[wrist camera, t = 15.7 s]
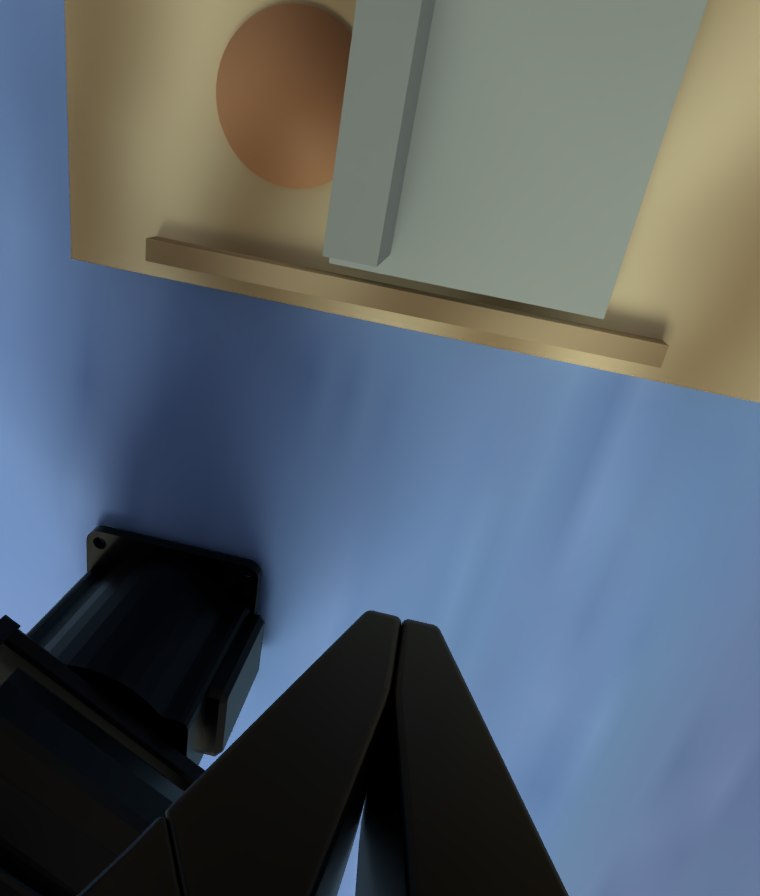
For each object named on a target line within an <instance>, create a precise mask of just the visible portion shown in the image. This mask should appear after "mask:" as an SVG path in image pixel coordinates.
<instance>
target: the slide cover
mask: <svg viewBox="0 0 760 896" xmlns="http://www.w3.org/2000/svg"><path fill="white" fill-rule="evenodd" d="M707 1H708V0H357V2H356V9H355V17H354V24H353V31H352V39H351V46H350V54H349V61H348V69H347V76H346V84H345V91H344V99H343V106H342V113H341V121H340V128H339V136H338V143H337V151H336V158H335V166H334V173H333V181H332V188H331V195H330V203H329V210H328V218H327V225H326V233H325V240H324V248H323V255H322V256H325V257H330V259H329V263H331V264H336V265H341V266H346V267H351V268H356V269H361V270H365V271H370V272H375V273H380V274H385V275H390V276H395V277H400V278H405V279H409V280H414V281H419V282H424V283H429V284H434V285H439V286H444V287H448V288H453V289H458V290H463V291H468V292H473V293H478V294H483V295H488V296H492V297H497V298H502V299H507V300H512V301H517V302H522V303H527V304H532V305H536V306H541V307H546V308H551V309H556V310H561V311H566V312H571V313H575V314H580V315H585V316H590V317H595V318H600V319H604V317H605V314H606V311H607V308H608V305H609V301H610V298H611V295H612V292H613V289H614V286H615V283H616V280H617V277H618V274H619V271H620V268H621V265H622V262H623V259H624V256H625V253H626V249H627V246H628V243H629V240H630V237H631V234H632V231H633V228H634V225H635V222H636V219H637V216H638V213H639V210H640V207H641V204H642V200H643V197H644V194H645V191H646V188H647V185H648V182H649V179H650V176H651V173H652V170H653V167H654V164H655V161H656V158H657V155H658V151H659V148H660V145H661V142H662V139H663V136H664V133H665V130H666V127H667V124H668V121H669V118H670V115H671V112H672V109H673V106H674V102H675V99H676V96H677V93H678V90H679V87H680V84H681V81H682V78H683V75H684V72H685V69H686V66H687V63H688V60H689V57H690V54H691V50H692V47H693V44H694V41H695V38H696V35H697V32H698V29H699V26H700V23H701V20H702V17H703V14H704V11H705V8H706V5H707Z"/></svg>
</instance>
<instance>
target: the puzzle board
mask: <svg viewBox="0 0 760 896" xmlns="http://www.w3.org/2000/svg"><path fill="white" fill-rule="evenodd" d="M356 2H357V0H65V32H66V70H67V109H68V147H69V186H70V225H71V259H75V260H80V261H84V262H89V263H94V264H99V265H104V266H108V267H113V268H118V269H123V270H127V271H132V272H137V273H142V274H147V275H151V276H156V277H161V278H166V279H171V280H175V281H180V282H185V283H190V284H194V285H199V286H204V287H209V288H214V289H218V290H223V291H228V292H233V293H237V294H242V295H247V296H252V297H257V298H261V299H266V300H271V301H276V302H281V303H285V304H290V305H295V306H300V307H304V308H309V309H314V310H319V311H324V312H328V313H333V314H338V315H343V316H347V317H352V318H357V319H362V320H367V321H371V322H376V323H381V324H386V325H390V326H395V327H400V328H405V329H410V330H414V331H419V332H424V333H429V334H434V335H438V336H443V337H448V338H453V339H457V340H462V341H467V342H472V343H477V344H481V345H486V346H491V347H496V348H500V349H505V350H510V351H515V352H520V353H524V354H529V355H534V356H539V357H544V358H548V359H553V360H558V361H563V362H567V363H572V364H577V365H582V366H587V367H591V368H596V369H601V370H606V371H610V372H615V373H620V374H625V375H630V376H634V377H639V378H644V379H649V380H654V381H658V382H663V383H668V384H673V385H677V386H682V387H687V388H692V389H697V390H701V391H706V392H711V393H716V394H720V395H725V396H730V397H735V398H740V399H744V400H749V401H754V402H759V403H760V0H708V1H707V5H706V8H705V11H704V14H703V17H702V20H701V23H700V26H699V29H698V32H697V35H696V38H695V41H694V44H693V47H692V50H691V54H690V57H689V60H688V63H687V66H686V69H685V72H684V75H683V78H682V81H681V84H680V87H679V90H678V93H677V96H676V99H675V102H674V106H673V109H672V112H671V115H670V118H669V121H668V124H667V127H666V130H665V133H664V136H663V139H662V142H661V145H660V148H659V151H658V155H657V158H656V161H655V164H654V167H653V170H652V173H651V176H650V179H649V182H648V185H647V188H646V191H645V194H644V197H643V200H642V204H641V207H640V210H639V213H638V216H637V219H636V222H635V225H634V228H633V231H632V234H631V237H630V240H629V243H628V246H627V249H626V253H625V256H624V259H623V262H622V265H621V268H620V271H619V274H618V277H617V280H616V283H615V286H614V289H613V292H612V295H611V298H610V301H609V305H608V308H607V311H606V314H605V317H604V319H600V318H595V317H590V316H585V315H580V314H575V313H571V312H566V311H561V310H556V309H551V308H546V307H541V306H536V305H532V304H527V303H522V302H517V301H512V300H507V299H502V298H497V297H492V296H488V295H483V294H478V293H473V292H468V291H463V290H458V289H453V288H448V287H444V286H439V285H434V284H429V283H424V282H419V281H414V280H409V279H405V278H400V277H395V276H390V275H385V274H380V273H375V272H370V271H365V270H361V269H356V268H351V267H346V266H341V265H336V264H331V263H329V259H330V257H325V256H322V255H323V248H324V240H325V233H326V225H327V218H328V210H329V203H330V195H331V188H332V181H333V173H334V166H335V158H336V151H337V143H338V136H339V128H340V121H341V113H342V106H343V99H344V91H345V84H346V76H347V69H348V61H349V54H350V46H351V39H352V31H353V24H354V17H355V9H356Z"/></svg>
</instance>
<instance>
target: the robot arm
mask: <svg viewBox="0 0 760 896" xmlns="http://www.w3.org/2000/svg"><path fill="white" fill-rule="evenodd" d="M99 537H100V538H102V539H104V541H105V542H106V543H104V542H102V541H101V540H100V538H99ZM242 571H246V572H248V573H249V574H250V575H251V577H247V576H245V575H244V574H243V573H242ZM261 575H262V573H261V568H260V567H259V565H258V564H257V563H256V562H254V561H252V560H249V559H245V558H240V557H236V556H232V555H227V554H223V553H219V552H214V551H210V550H206V549H202V548H197V547H193V546H189V545H184V544H180V543H176V542H171V541H167V540H163V539H159V538H154V537H150V536H146V535H141V534H137V533H133V532H128V531H124V530H120V529H116V528H111V527H107V526H99V527H96V528H95V529H94V530H93V531H92V532H91V533H90V534H89V535H88V536H87V573H86V574H85V575H84V576H83V577H82V578H81V579H80V580H79V581H78V582H77V583H76V584H75V585H74V586H73V587H72V588H71V589H70V590H69V591H68V592H67V593H66V594H65V595H64V597H63V598H62V599H61V600H60V601H59V602H58V603H57V604H56V605H55V606H54V607H53V608H52V609H51V610H50V611H49V612H48V613H47V614H46V615H45V616H44V617H43V618H42V619H41V620H40V621H39V622H38V623H37V624H36V625H35V626H34V627H33V628H32V629H31V630H30V631H29V632H28V633H27V634H24V633H23V632H22V631H20V630H19V628H20V625H19V624H17V623H16V622H15V621H13V620H12V619H11V618H9V617H8V616H7V615H5V616H3V617H2V618H1V619H0V896H337V893H338V890H339V887H340V884H341V881H342V878H343V874H344V871H345V868H346V865H347V862H348V858H349V855H350V852H351V849H352V846H353V842H354V839H355V835H356V832H357V828H358V825H359V821H360V817H361V813H362V809H363V805H364V809H363V815H362V821H361V831H360V841H359V852H358V865H357V879H356V892H355V896H569V895H568V893H567V891H566V889H565V887H564V885H563V883H562V881H561V879H560V877H559V875H558V873H557V871H556V869H555V866H554V864H553V862H552V860H551V858H550V856H549V854H548V852H547V850H546V848H545V846H544V844H543V842H542V840H541V838H540V836H539V833H538V831H537V829H536V827H535V825H534V823H533V821H532V819H531V817H530V815H529V813H528V811H527V809H526V807H525V805H524V802H523V800H522V798H521V796H520V794H519V792H518V790H517V788H516V786H515V784H514V782H513V780H512V778H511V776H510V774H509V772H508V769H507V767H506V765H505V763H504V761H503V759H502V757H501V755H500V753H499V751H498V749H497V747H496V745H495V743H494V741H493V739H492V736H491V734H490V732H489V730H488V728H487V726H486V724H485V722H484V720H483V718H482V716H481V714H480V712H479V710H478V708H477V706H476V703H475V701H474V699H473V697H472V695H471V693H470V691H469V689H468V687H467V685H466V683H465V681H464V679H463V677H462V675H461V672H460V670H459V668H458V666H457V664H456V662H455V660H454V658H453V656H452V654H451V652H450V650H449V648H448V646H447V644H446V642H445V639H444V637H443V635H442V633H441V631H440V629H439V628H438V627H437V626H435V625H432V624H427V623H423V622H419V621H415V620H410V619H406V620H404V621H403V622H402V625H401V620H400V619H399V618H398V617H397V616H393V615H389V614H385V613H380V612H376V611H367V612H365V613H364V614H363V615H362V616H361V617H360V618H359V619H358V620H357V621H356V622H355V623H354V624H353V625H352V626H351V627H350V628H349V629H348V630H347V631H346V632H345V633H344V634H343V635H342V636H341V637H340V638H339V639H338V640H337V641H335V642H334V643H333V644H332V645H331V646H330V647H329V648H328V649H327V650H326V651H325V652H324V653H323V654H322V655H321V656H320V657H319V658H318V659H317V660H316V661H315V662H314V663H313V664H312V665H311V666H310V667H309V668H308V669H307V670H306V671H305V672H304V673H303V674H302V675H301V676H300V677H299V678H298V679H297V680H296V681H295V682H294V683H293V684H292V685H291V686H290V687H289V688H288V689H287V690H286V691H285V692H284V693H283V694H282V695H281V696H280V697H279V698H278V699H277V700H276V701H275V702H274V703H273V704H272V705H271V706H270V707H269V708H268V709H267V710H266V711H265V712H264V713H263V714H262V715H261V716H260V717H259V718H258V719H257V720H256V721H255V722H254V723H253V724H252V725H251V726H250V727H249V728H248V729H247V730H246V731H245V732H244V733H243V734H242V735H241V736H240V737H239V738H238V739H237V740H236V741H235V742H234V743H233V744H232V745H231V746H230V747H229V748H228V749H227V750H226V751H225V752H224V753H223V754H222V755H221V756H220V757H219V758H218V759H217V760H216V761H215V762H214V763H213V764H212V765H211V766H210V767H209V768H208V769H207V770H206V771H205V770H204V769H202V768H201V767H200V766H198V765H199V763H200V761H201V759H202V756H203V754H207V755H211V756H216V755H218V754H219V753H221V752H222V751H223V750H224V748H225V745H226V743H227V741H228V739H229V736H230V734H231V732H232V729H233V727H234V725H235V723H236V720H237V718H238V716H239V714H240V711H241V709H242V707H243V704H244V702H245V700H246V698H247V695H248V693H249V691H250V688H251V686H252V684H253V682H254V679H255V677H256V675H257V672H258V670H259V663H260V655H261V647H262V640H263V632H264V624H265V622H264V620H263V618H262V616H261V615H258V614H257V609H258V600H259V592H260V583H261ZM364 801H365V802H364Z"/></svg>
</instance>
